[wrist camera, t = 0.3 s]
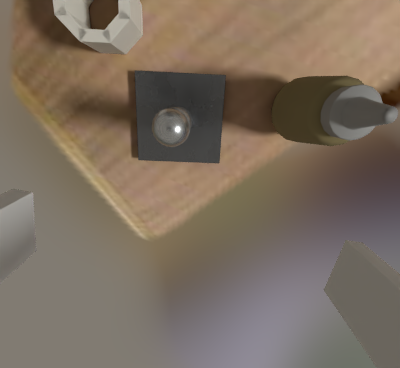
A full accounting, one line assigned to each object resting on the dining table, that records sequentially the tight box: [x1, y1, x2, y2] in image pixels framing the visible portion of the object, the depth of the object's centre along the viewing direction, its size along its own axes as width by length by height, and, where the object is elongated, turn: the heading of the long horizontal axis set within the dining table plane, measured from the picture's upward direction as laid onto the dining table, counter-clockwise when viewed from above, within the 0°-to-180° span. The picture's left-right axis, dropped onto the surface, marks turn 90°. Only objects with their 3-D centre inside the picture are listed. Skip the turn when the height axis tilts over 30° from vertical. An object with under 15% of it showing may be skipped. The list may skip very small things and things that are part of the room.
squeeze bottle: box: [271, 76, 398, 146], centre depth 25 cm, size 8×8×18 cm
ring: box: [53, 0, 143, 54], centre depth 27 cm, size 8×8×6 cm
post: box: [135, 71, 226, 163], centre depth 27 cm, size 12×12×15 cm
